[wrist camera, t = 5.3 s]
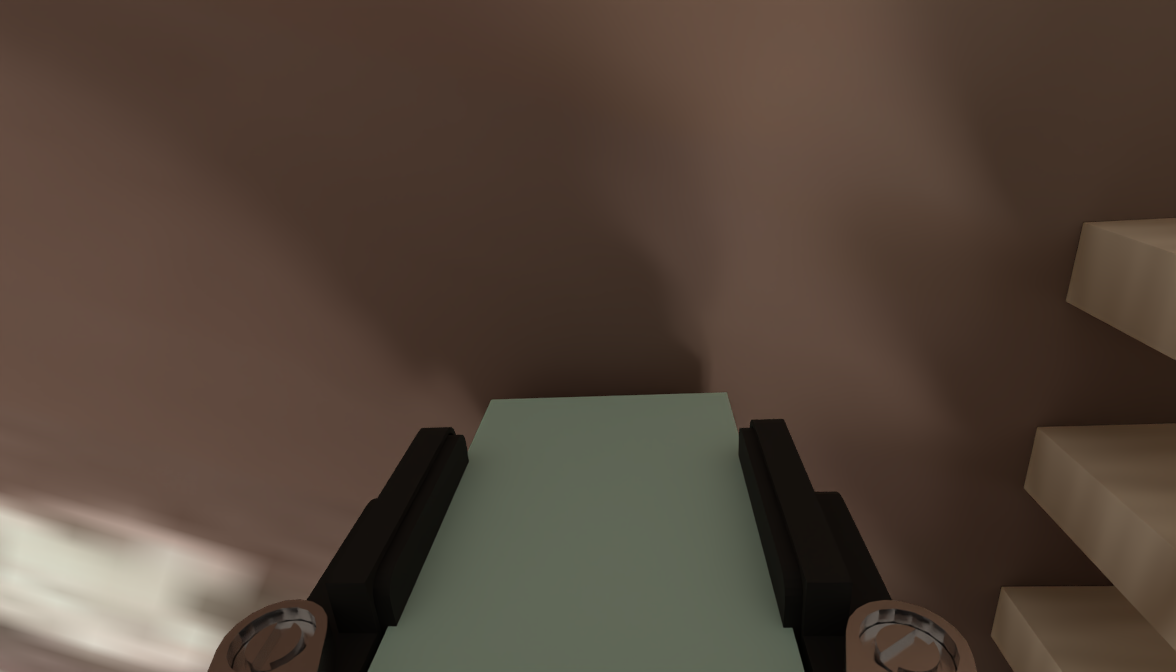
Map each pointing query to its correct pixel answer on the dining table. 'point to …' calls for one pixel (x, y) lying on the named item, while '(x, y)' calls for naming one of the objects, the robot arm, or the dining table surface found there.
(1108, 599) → the domino
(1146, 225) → the domino
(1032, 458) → the domino
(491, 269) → the dining table surface
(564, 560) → the domino
